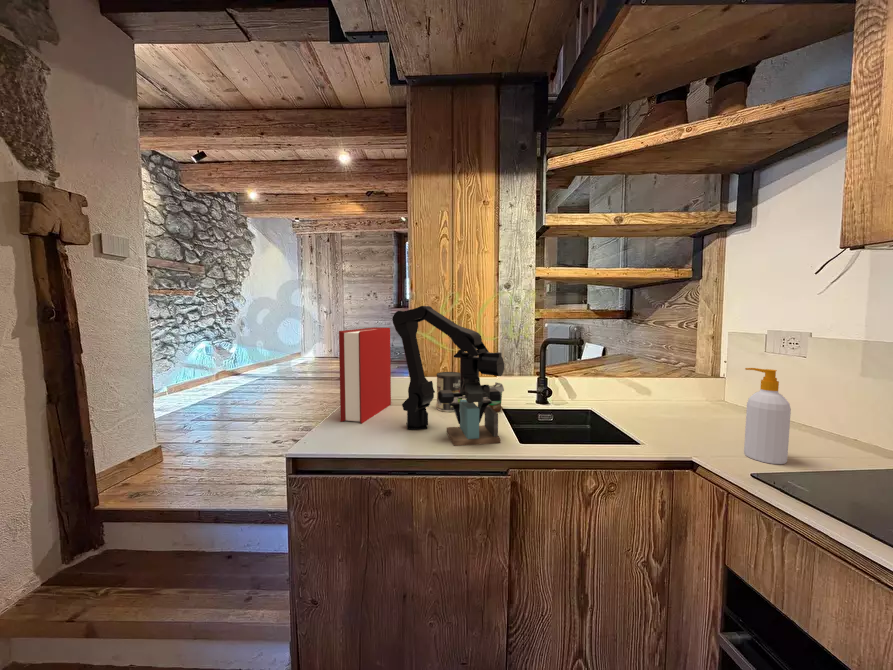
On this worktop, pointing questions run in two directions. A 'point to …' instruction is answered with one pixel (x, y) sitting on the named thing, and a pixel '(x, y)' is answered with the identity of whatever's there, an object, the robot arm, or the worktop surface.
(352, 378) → the book
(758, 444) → the soap bottle
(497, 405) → the food container
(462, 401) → the teal book
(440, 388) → the coffee can
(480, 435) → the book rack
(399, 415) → the worktop surface
